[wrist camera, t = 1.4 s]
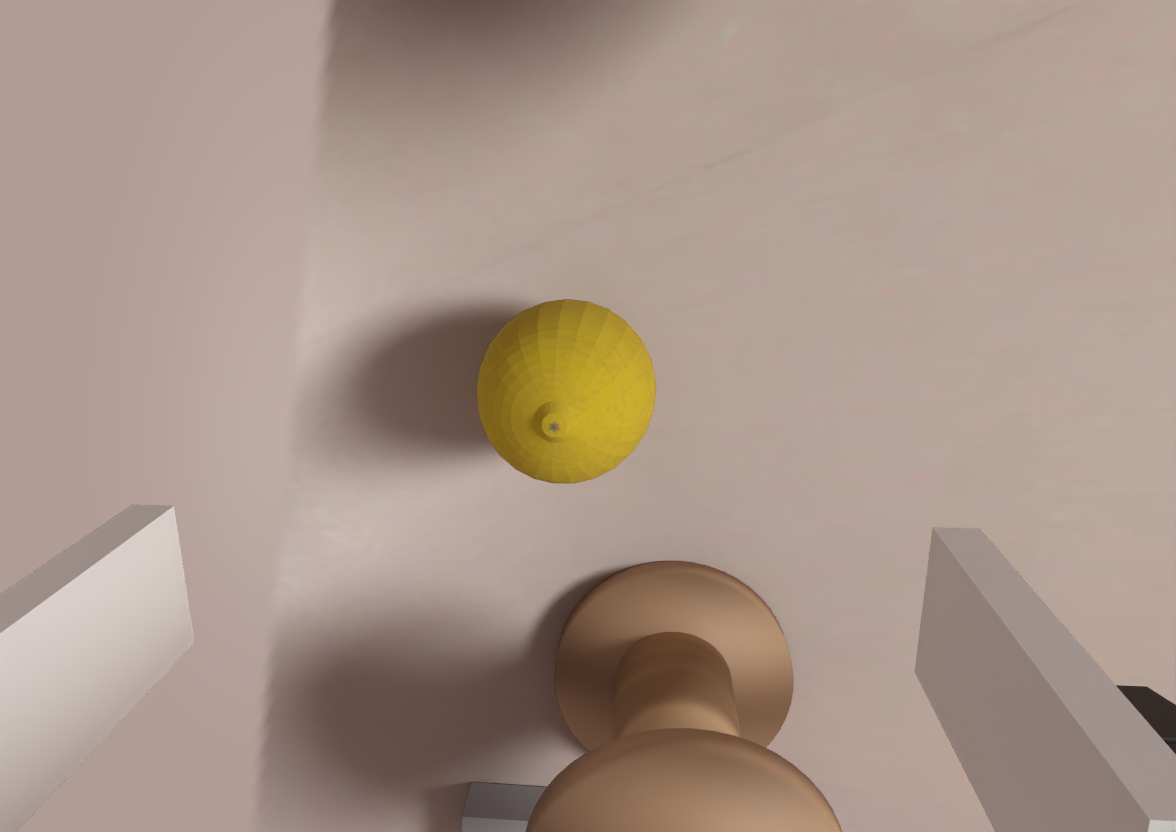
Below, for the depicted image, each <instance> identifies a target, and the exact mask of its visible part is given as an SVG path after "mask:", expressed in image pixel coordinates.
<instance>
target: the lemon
mask: <svg viewBox="0 0 1176 832" xmlns="http://www.w3.org/2000/svg"><path fill="white" fill-rule="evenodd" d="M655 392H656V381H655V376H654V370H653V365H652V360H651V358H650V356H649V354H648V352H647V350H646V348H645V346H644V344H643V341H642V340H641V338H640V337H639V336H638V335H637V333H636V332H635V331H634V330H633V329H632V328H631V326H630V325H629V324H628V323H627V322H626V321H625V320H623V319H622V318H620V317H619V316H618V315H616V314H615V313H613V312H612V311H611V310H609V309H607V308H604V307H601V306H599V305H596V304H593V303H591V302H588V301H579V300H570V299H564V300H557V301H550V302H544V303H541V304H539V305H537V306H534V307H532V308H530V309H527V310H525V311H523V312H521V313H520V314H519V315H517V316H516V317H515V318H514V319H512V320H511V321H510V322H508V323H507V324H506V325H505V326H504V327H503V328H502V329H501V330H500V332H499V333H498V334H497V336H496V337H495V338H494V339H493V341H492V342H491V343H490V345H489V347H488V349H487V351H486V354H485V356H484V359H483V361H482V363H481V366H480V369H479V376H478V384H477V402H478V411H479V417H480V420H481V423H482V425H483V428H484V430H485V433H486V435H487V438H488V440H489V441H490V442H491V444H492V445H493V447H494V448H495V449H496V451H497V452H498V453H499V455H500V456H501V457H502V458H503V459H504V460H506V461H507V462H508V463H509V464H510V465H511V466H513V467H514V468H515V469H516V470H518V471H520V472H522V473H524V474H526V475H528V476H530V477H532V478H534V479H538V480H542V481H546V482H550V483H578V482H582V481H586V480H591V479H594V478H597V477H599V476H600V475H602V474H604V473H606V472H608V471H610V470H612V469H614V468H615V467H616V466H618V465H619V464H620V463H621V462H622V461H623V460H624V459H625V458H626V457H628V456H629V455H630V454H631V453H632V452H633V451H634V449H635V448H636V446H637V445H638V443H639V442H640V440H641V439H642V437H643V436H644V434H645V433H646V431H647V429H648V426H649V423H650V420H651V417H652V413H653V410H654V406H655Z"/></svg>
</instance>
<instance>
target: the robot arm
mask: <svg viewBox="0 0 1176 832" xmlns="http://www.w3.org/2000/svg"><path fill="white" fill-rule="evenodd" d="M194 643H195V642H194V636H193V629H192V622H191V616H190V609H189V603H188V596H187V590H186V583H185V576H184V569H183V563H182V556H181V550H180V543H179V536H178V530H177V523H176V517H175V511H174V506H157V505H131V506H130V507H128V508H127V509H125V510H124V511H122V512H121V513H119V514H118V515H116V516H115V517H113V518H112V519H111V520H109V521H108V522H106V523H105V524H103V525H102V526H100V527H99V528H97V529H96V530H94V531H93V532H91V533H90V534H88V535H87V536H85V537H84V538H82V539H81V540H79V541H78V542H76V543H75V544H73V545H72V546H70V547H69V548H68V549H66V550H64V551H63V552H62V553H60V554H59V555H57V556H56V557H54V558H53V559H51V560H50V561H48V562H47V563H45V564H44V565H42V566H41V567H39V568H38V569H36V570H35V571H33V572H32V573H30V574H29V575H27V576H26V577H25V578H23V579H21V580H20V581H18V582H17V583H15V584H14V585H13V586H11V587H10V588H8V589H7V590H5V591H4V592H2V593H1V594H0V832H17V831H18V830H19V829H20V828H21V827H22V826H23V825H24V824H25V823H26V822H27V821H28V820H29V819H30V818H31V817H32V815H33V814H34V813H35V812H36V811H37V810H38V809H39V808H40V807H41V806H42V805H43V804H44V803H45V802H46V801H47V799H48V798H49V797H50V796H51V795H52V794H53V793H54V792H55V791H56V790H57V789H58V788H59V787H60V786H61V785H62V784H63V782H64V781H65V780H66V779H67V778H68V777H69V776H70V775H71V774H72V773H73V772H74V771H75V770H76V769H77V767H78V766H79V765H80V764H81V763H82V762H83V761H84V760H85V759H86V758H87V757H88V756H89V755H90V754H91V753H92V752H93V751H94V749H95V748H96V747H97V746H98V745H99V744H100V743H101V742H102V741H103V740H104V739H105V738H106V737H107V736H108V735H109V733H110V732H111V731H112V730H113V729H114V728H115V727H116V726H117V725H118V724H119V723H120V722H121V721H122V720H123V719H124V717H125V716H126V715H127V714H128V713H129V712H130V711H131V710H132V709H133V708H134V707H135V706H136V705H137V704H138V702H139V701H140V700H141V699H142V698H143V697H144V696H145V695H146V694H147V693H148V692H149V691H150V690H151V689H152V688H153V686H155V684H156V683H157V682H158V681H159V680H160V679H161V678H162V677H163V676H164V675H165V673H167V672H168V671H169V670H170V669H171V667H172V666H173V665H174V664H175V663H176V662H177V661H178V660H179V659H180V658H181V657H182V656H183V655H184V654H185V652H186V651H187V650H188V649H189V648H190V647H191V646H192V645H193V644H194ZM915 673H916V675H917V677H918V679H919V681H920V683H921V685H922V687H923V689H924V691H925V693H926V695H927V697H928V699H929V701H930V703H931V705H932V707H933V709H934V711H935V713H936V715H937V717H938V719H939V721H940V723H941V725H942V727H943V729H944V731H945V733H946V735H947V737H948V739H949V741H950V743H951V745H952V747H953V749H954V751H955V753H956V755H957V757H958V759H959V761H960V763H961V765H962V767H963V769H964V771H965V773H966V775H967V777H968V779H969V781H970V783H971V785H972V787H973V789H974V790H975V792H976V794H977V796H978V798H979V800H980V802H981V804H982V806H983V808H984V810H985V812H986V814H987V816H988V818H989V820H990V822H991V824H992V826H993V828H994V830H995V832H1176V705H1175V704H1173V703H1172V702H1170V701H1168V700H1167V699H1165V698H1164V697H1162V696H1161V695H1159V694H1157V693H1156V692H1154V691H1153V690H1151V689H1149V688H1148V687H1142V686H1117V685H1115V684H1114V683H1113V682H1112V680H1111V679H1110V678H1109V677H1108V676H1107V675H1106V674H1105V672H1104V671H1103V670H1102V669H1101V668H1100V667H1099V666H1098V664H1097V663H1096V662H1095V661H1094V660H1093V659H1092V657H1091V656H1090V655H1089V654H1088V653H1087V652H1086V651H1085V649H1084V648H1083V647H1082V646H1081V645H1080V644H1079V642H1078V641H1077V640H1076V639H1075V638H1074V637H1073V636H1072V634H1071V633H1070V632H1069V631H1068V630H1067V629H1066V627H1065V626H1064V625H1063V624H1062V623H1061V622H1060V621H1059V619H1058V618H1057V617H1056V616H1055V615H1054V614H1053V612H1052V611H1051V610H1050V609H1049V608H1048V607H1047V606H1046V604H1045V603H1044V602H1043V601H1042V600H1041V599H1040V598H1039V596H1038V595H1037V594H1036V593H1035V592H1034V591H1033V589H1032V588H1031V587H1030V586H1029V585H1028V584H1027V583H1026V581H1025V580H1024V579H1023V578H1022V577H1021V576H1020V574H1019V573H1018V572H1017V571H1016V570H1015V569H1014V568H1013V566H1012V565H1011V564H1010V563H1009V562H1008V561H1007V559H1006V558H1005V557H1004V556H1003V555H1002V554H1001V553H1000V551H999V550H998V549H997V548H996V547H995V546H994V544H993V543H992V542H991V541H990V540H989V539H988V538H987V536H986V535H985V534H984V533H983V532H982V531H981V530H980V529H971V528H936V527H933V528H932V536H931V544H930V552H929V560H928V568H927V576H926V584H925V592H924V600H923V609H922V617H921V625H920V633H919V641H918V649H917V657H916V665H915Z"/></svg>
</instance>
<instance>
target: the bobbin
mask: <svg viewBox="0 0 1176 832" xmlns="http://www.w3.org/2000/svg"><path fill="white" fill-rule="evenodd" d="M555 691H556V696H557V701H558V705H559V707H560V710H561V713H562V716H563V718H564V720H565V722H566V723H567V725H568V727H569V729H570V730H571V732H572V733H573V735H574V736H575V737H576V739H577V740H578V741H579V742H580V743H581V744H582V745H583V746H584V748H585V749H586V750H587V751H588V752H587V753H585V754H584V755H582V756H581V757H579V758H578V759H576V760H575V761H573V762H572V763H571V764H569V765H568V766H567V767H566V768H565V769H564V770H563V771H562V772H560V773H559V774H558V775H557V776H556V777H555V778H554V780H553V781H552V782H551V783H550V784H549V785H548V787H547V788H546V789H545V790H544V792H543V793H542V795H541V797H540V798H539V800H538V801H537V803H536V805H535V807H534V809H533V811H532V814H531V816H530V818H529V821H528V824H527V828H526V832H842V830H841V827H840V825H839V822H838V820H837V818H836V816H835V814H834V811H833V809H832V808H831V806H830V805H829V803H828V802H827V800H826V798H825V797H824V795H823V794H822V793H821V791H820V790H819V789H818V788H817V787H816V786H815V785H814V783H813V782H812V781H811V780H810V779H809V778H808V777H807V776H806V775H805V774H803V773H802V772H801V771H800V770H799V769H798V768H797V767H795V766H794V765H793V764H792V763H790V762H789V761H787V760H786V759H784V758H783V757H781V756H780V755H778V754H777V753H775V752H773V751H771V750H769V749H767V748H766V747H767V746H768V745H769V744H770V742H771V741H772V740H773V739H774V737H775V736H776V734H777V733H778V732H779V730H780V728H781V726H782V724H783V723H784V721H785V719H786V716H787V713H788V710H789V708H790V705H791V699H792V694H793V669H792V662H791V659H790V655H789V652H788V648H787V645H786V641H785V638H784V635H783V632H782V629H781V627H780V625H779V623H778V621H777V619H776V617H775V616H774V614H773V612H772V611H771V609H770V608H769V607H768V605H767V604H766V603H765V602H764V601H763V600H762V598H761V597H760V596H759V595H758V594H756V593H755V592H754V591H753V590H752V589H751V588H750V587H748V586H747V585H745V584H744V583H743V582H741V581H740V580H738V579H737V578H735V577H733V576H731V575H729V574H727V573H725V572H723V571H720V570H718V569H715V568H712V567H709V566H705V565H701V564H697V563H691V562H682V561H660V562H652V563H646V564H642V565H638V566H634V567H631V568H628V569H626V570H623V571H621V572H618V573H616V574H614V575H613V576H611V577H609V578H607V579H605V580H604V581H602V582H601V583H600V584H598V585H597V586H596V587H594V588H593V589H592V590H591V591H590V592H589V593H588V594H587V595H586V596H584V597H583V598H582V600H581V601H580V602H579V604H578V605H577V606H576V607H575V609H574V610H573V612H572V613H571V615H570V617H569V619H568V620H567V622H566V625H565V627H564V630H563V632H562V636H561V640H560V644H559V648H558V654H557V659H556V666H555Z"/></svg>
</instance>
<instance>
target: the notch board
mask: <svg viewBox="0 0 1176 832" xmlns="http://www.w3.org/2000/svg"><path fill="white" fill-rule="evenodd" d="M546 788H547V787H537V786H522V785H507V784H492V783H477V782H471V786H470V789H469V793H468V796H467V800H466V803H465V807H464V810H463V814H462V832H526V828H527V824H528V821H529V818H530V816H531V814H532V811H533V809H534V807H535V805H536V803H537V801H538V800H539V798H540V797H541V795H542V793H543V792H544V790H545V789H546Z"/></svg>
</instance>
